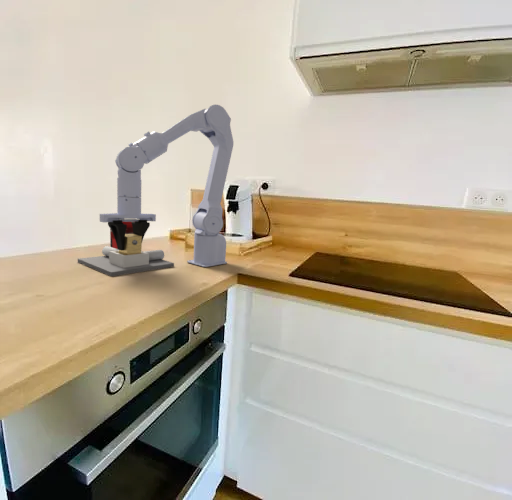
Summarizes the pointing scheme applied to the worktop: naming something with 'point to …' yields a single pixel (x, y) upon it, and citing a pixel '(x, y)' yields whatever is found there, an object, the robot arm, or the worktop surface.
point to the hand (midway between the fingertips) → (129, 249)
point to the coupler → (132, 244)
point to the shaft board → (126, 262)
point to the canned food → (128, 231)
